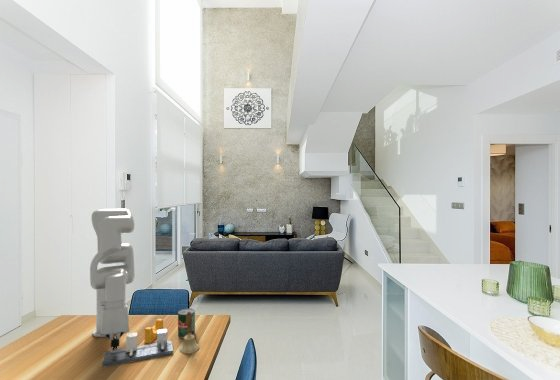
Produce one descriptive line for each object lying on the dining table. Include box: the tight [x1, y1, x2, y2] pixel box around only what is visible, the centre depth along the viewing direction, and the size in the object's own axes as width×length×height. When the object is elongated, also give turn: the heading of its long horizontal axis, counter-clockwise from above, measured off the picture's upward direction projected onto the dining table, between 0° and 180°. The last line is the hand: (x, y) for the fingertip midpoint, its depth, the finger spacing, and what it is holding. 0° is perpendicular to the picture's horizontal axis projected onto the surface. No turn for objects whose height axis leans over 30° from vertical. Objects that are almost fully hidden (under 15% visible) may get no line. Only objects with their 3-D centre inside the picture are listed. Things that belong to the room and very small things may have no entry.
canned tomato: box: [177, 308, 196, 339], centre depth 151 cm, size 8×8×11 cm
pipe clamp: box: [144, 318, 164, 344], centre depth 149 cm, size 12×4×6 cm, turn 173°
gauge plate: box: [101, 328, 174, 368], centre depth 132 cm, size 10×26×8 cm, turn 113°
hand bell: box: [178, 312, 200, 355], centre depth 137 cm, size 8×8×16 cm
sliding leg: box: [125, 332, 138, 356], centre depth 131 cm, size 8×4×6 cm, turn 23°
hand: (115, 348), depth 130 cm, fingers closed
